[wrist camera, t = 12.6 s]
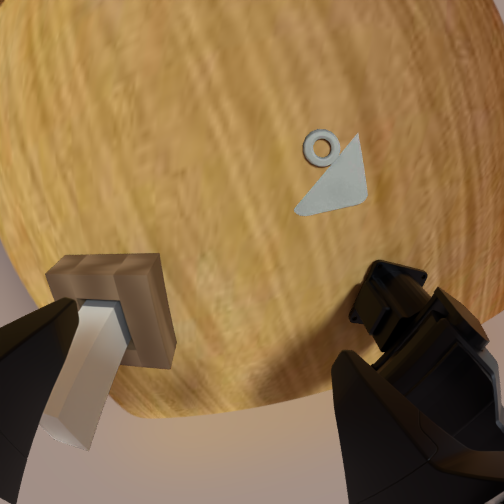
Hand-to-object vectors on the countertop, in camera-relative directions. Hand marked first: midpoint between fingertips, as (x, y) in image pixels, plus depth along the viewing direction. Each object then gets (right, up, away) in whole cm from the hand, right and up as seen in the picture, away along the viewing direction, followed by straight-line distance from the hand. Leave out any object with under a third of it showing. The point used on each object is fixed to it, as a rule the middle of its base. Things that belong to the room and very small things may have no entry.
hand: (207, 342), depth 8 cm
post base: (-11, -2, +15) cm, 18 cm away
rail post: (-11, -2, +15) cm, 18 cm away
